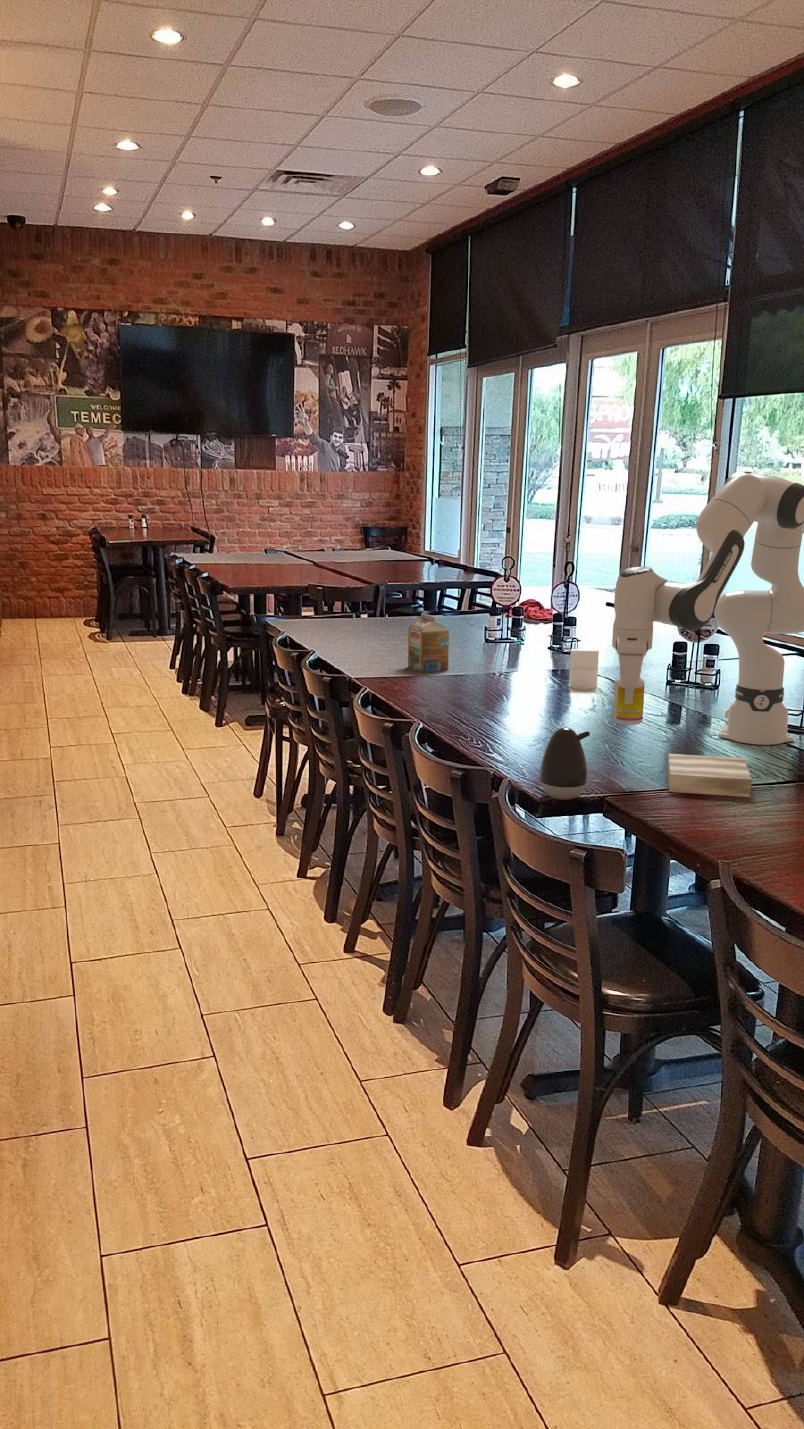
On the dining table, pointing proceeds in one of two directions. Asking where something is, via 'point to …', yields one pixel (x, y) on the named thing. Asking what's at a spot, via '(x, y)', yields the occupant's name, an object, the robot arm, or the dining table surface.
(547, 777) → the pump dispenser
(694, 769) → the birch plinth
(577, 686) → the base with upright slab
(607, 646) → the dining table surface
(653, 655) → the dining table surface
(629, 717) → the supplement bottle
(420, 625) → the milk carton
